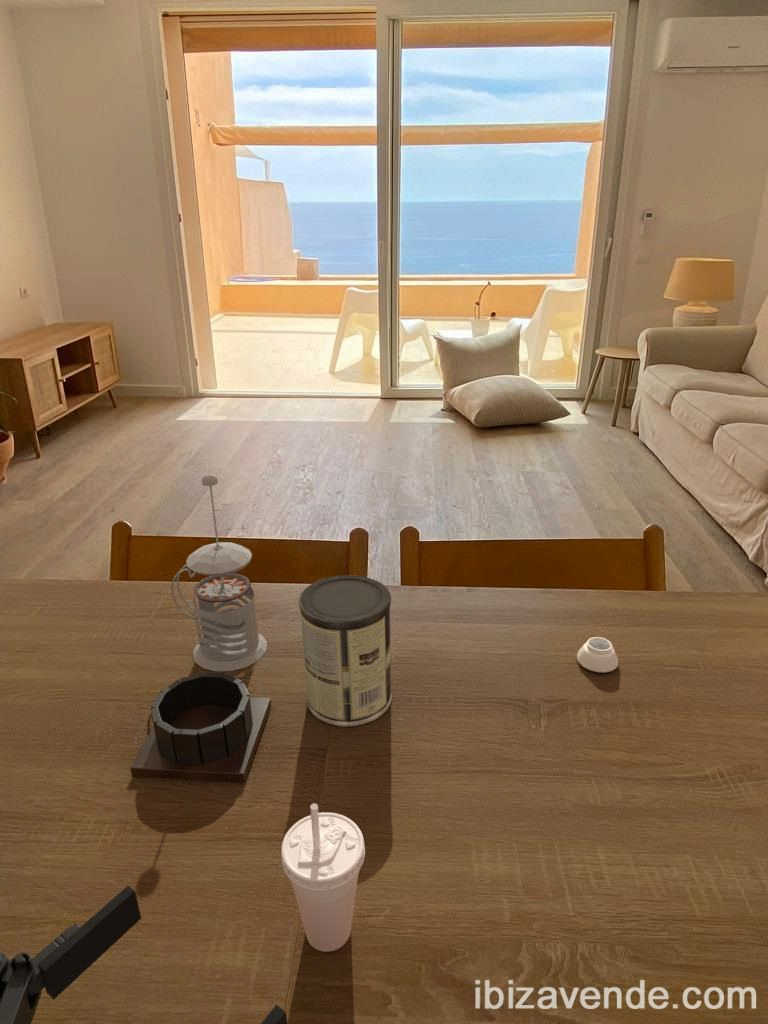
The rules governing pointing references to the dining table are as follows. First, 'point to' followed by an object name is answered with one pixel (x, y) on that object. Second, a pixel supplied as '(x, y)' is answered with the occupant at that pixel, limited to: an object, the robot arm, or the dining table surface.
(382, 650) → the coffee can
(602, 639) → the upturned white bowl
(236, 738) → the cup holder
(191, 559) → the french press
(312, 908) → the smoothie
